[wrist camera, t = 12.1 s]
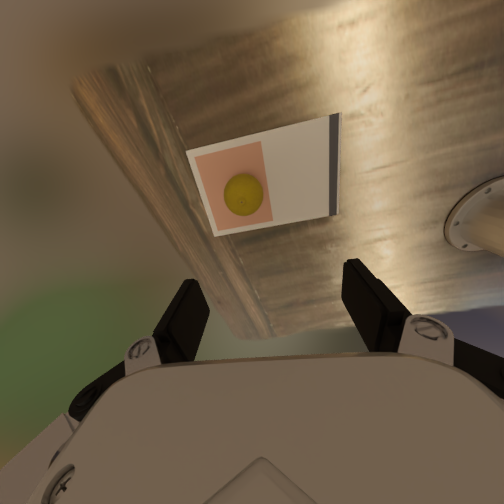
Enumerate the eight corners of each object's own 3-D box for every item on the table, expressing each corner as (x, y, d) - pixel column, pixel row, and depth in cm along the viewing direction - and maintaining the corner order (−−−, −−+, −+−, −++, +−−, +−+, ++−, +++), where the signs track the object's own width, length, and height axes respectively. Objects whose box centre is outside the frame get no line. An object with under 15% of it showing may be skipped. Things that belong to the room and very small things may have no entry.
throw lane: (341, 112, 24) (342, 112, 23) (338, 213, 30) (338, 214, 30) (186, 151, 26) (185, 150, 26) (214, 235, 33) (214, 236, 33)
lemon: (230, 208, 30) (222, 225, 23) (225, 172, 27) (214, 179, 20) (263, 205, 30) (265, 222, 23) (261, 169, 27) (263, 175, 20)
